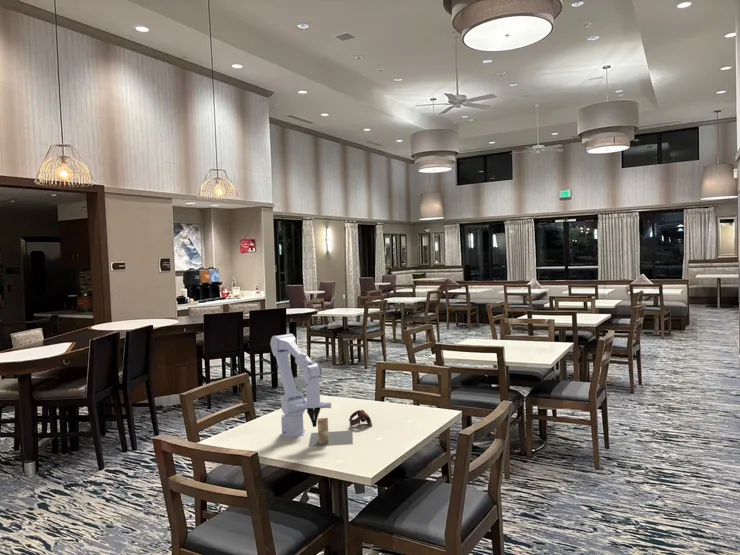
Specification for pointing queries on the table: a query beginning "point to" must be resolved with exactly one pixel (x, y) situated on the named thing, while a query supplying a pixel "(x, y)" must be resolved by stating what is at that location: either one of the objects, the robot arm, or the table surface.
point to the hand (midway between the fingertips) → (314, 426)
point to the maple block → (323, 430)
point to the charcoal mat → (333, 439)
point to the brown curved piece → (360, 418)
